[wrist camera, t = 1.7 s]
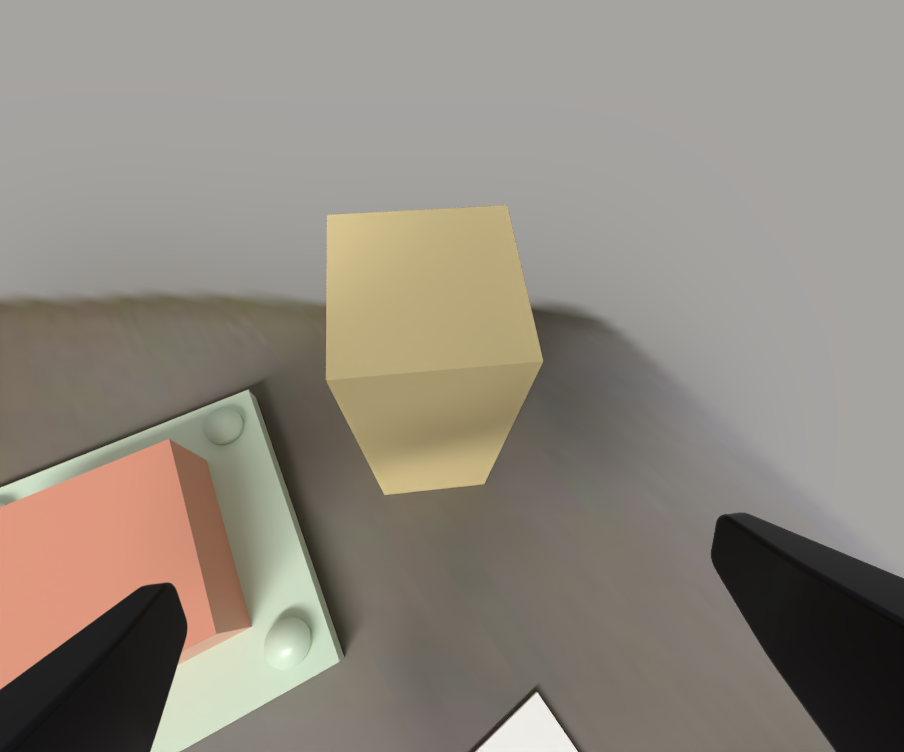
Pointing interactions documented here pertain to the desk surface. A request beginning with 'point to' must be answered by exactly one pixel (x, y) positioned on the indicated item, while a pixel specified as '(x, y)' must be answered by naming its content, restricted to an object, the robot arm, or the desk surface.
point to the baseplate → (260, 562)
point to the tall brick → (428, 340)
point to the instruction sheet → (529, 731)
